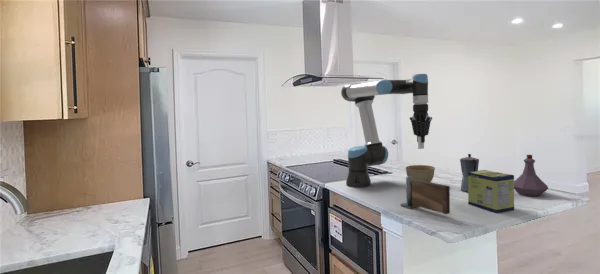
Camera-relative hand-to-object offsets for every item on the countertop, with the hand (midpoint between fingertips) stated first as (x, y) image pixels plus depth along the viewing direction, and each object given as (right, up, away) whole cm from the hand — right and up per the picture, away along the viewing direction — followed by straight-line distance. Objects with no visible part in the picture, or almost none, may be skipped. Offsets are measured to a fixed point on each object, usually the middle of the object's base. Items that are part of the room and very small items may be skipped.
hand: (421, 148), depth 174 cm
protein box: (+22, -26, -25) cm, 42 cm away
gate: (-7, -26, -29) cm, 39 cm away
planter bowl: (+7, -23, +20) cm, 31 cm away
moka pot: (+28, -23, +3) cm, 36 cm away
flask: (+52, -23, -7) cm, 57 cm away
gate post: (-12, -27, -19) cm, 35 cm away
